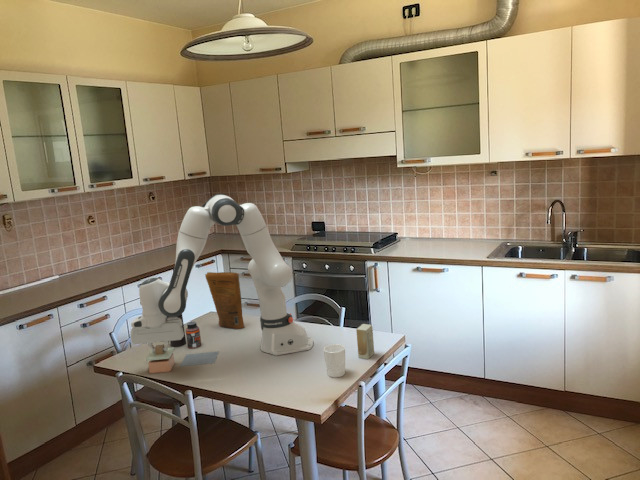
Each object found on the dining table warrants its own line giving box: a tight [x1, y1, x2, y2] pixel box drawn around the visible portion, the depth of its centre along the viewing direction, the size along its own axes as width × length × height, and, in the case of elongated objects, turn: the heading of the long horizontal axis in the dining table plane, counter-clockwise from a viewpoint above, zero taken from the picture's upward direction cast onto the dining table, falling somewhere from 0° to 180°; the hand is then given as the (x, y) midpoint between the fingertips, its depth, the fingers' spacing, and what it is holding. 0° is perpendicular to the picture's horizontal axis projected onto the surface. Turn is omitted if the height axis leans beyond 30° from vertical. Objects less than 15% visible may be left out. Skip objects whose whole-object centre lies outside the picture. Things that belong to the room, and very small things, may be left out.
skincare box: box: [355, 323, 375, 360], centre depth 207 cm, size 6×4×12 cm
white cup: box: [323, 343, 346, 378], centre depth 194 cm, size 8×8×10 cm
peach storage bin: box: [147, 352, 176, 375], centre depth 211 cm, size 8×8×5 cm
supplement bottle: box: [185, 321, 202, 349], centre depth 231 cm, size 6×6×11 cm
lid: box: [145, 344, 175, 362], centre depth 210 cm, size 9×9×4 cm
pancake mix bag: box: [204, 271, 246, 330], centre depth 252 cm, size 7×19×28 cm, turn 59°
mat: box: [179, 350, 220, 368], centre depth 218 cm, size 14×12×1 cm
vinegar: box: [166, 313, 187, 348], centre depth 234 cm, size 7×7×20 cm
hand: (160, 351), depth 210 cm, fingers closed on lid, 3 cm apart
